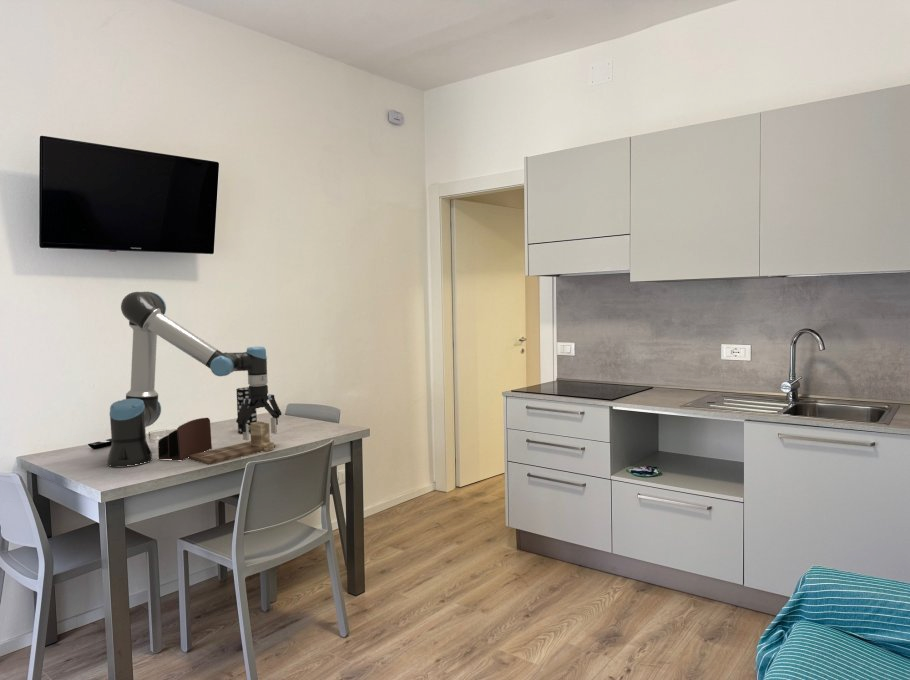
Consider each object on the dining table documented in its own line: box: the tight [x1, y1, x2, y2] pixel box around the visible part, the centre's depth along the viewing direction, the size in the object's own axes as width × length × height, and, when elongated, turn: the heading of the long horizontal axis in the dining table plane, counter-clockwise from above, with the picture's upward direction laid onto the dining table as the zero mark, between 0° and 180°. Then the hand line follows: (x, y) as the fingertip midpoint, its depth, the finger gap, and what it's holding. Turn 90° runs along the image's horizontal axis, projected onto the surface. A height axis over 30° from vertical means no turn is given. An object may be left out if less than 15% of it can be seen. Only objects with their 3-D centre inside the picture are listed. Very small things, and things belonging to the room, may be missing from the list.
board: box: [188, 440, 277, 465], centre depth 256 cm, size 30×14×2 cm, turn 143°
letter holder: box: [157, 417, 213, 461], centre depth 256 cm, size 10×20×14 cm, turn 166°
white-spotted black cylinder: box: [236, 386, 258, 435], centre depth 296 cm, size 8×8×20 cm
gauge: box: [248, 420, 275, 452], centre depth 264 cm, size 4×15×10 cm, turn 53°
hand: (260, 436), depth 263 cm, fingers open, 13 cm apart
